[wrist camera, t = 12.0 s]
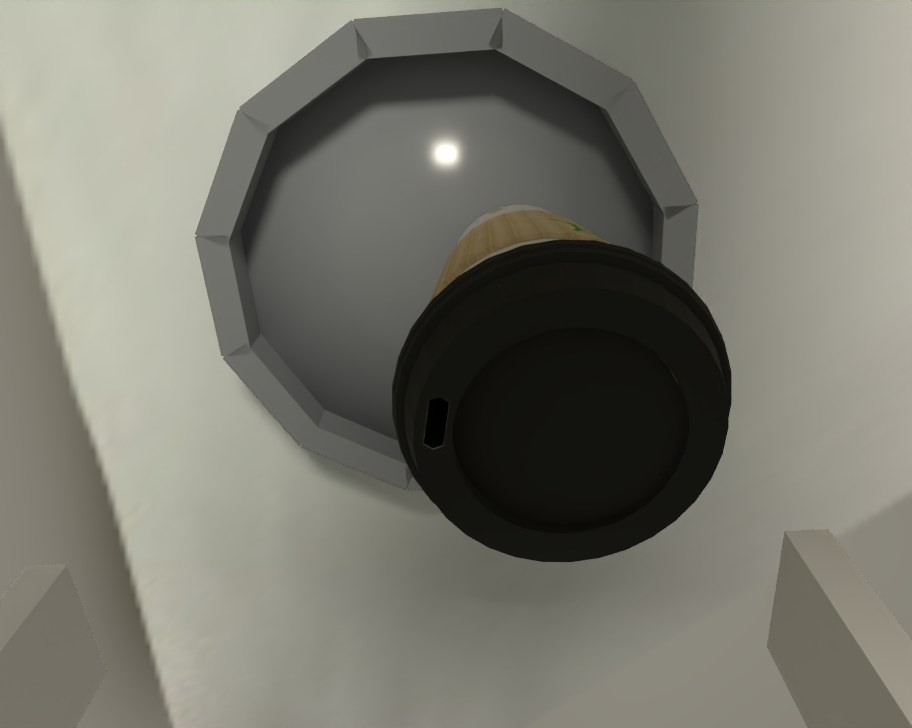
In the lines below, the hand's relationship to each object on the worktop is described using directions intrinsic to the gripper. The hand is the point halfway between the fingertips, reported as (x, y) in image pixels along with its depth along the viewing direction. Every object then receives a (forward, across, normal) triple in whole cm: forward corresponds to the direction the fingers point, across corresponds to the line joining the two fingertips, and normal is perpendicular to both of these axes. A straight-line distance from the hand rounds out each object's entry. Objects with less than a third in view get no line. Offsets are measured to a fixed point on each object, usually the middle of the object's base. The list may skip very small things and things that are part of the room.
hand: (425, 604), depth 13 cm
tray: (+23, 0, 0) cm, 23 cm away
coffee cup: (+22, +3, 0) cm, 22 cm away
